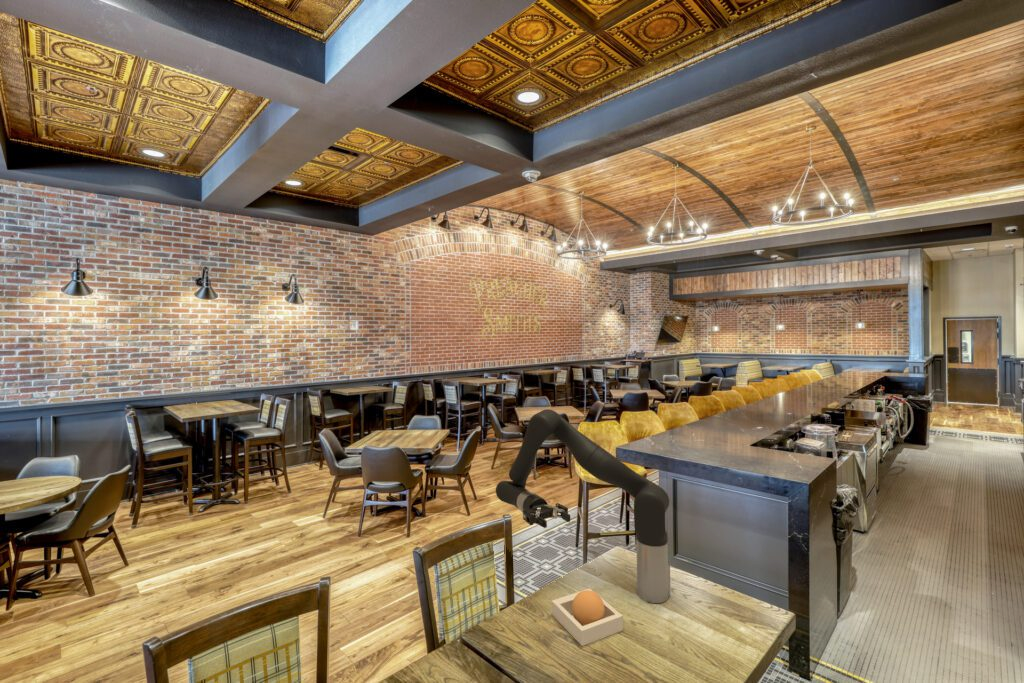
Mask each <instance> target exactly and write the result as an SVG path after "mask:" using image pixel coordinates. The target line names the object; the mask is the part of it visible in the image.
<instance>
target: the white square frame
mask: <svg viewBox="0 0 1024 683" xmlns="http://www.w3.org/2000/svg"><path fill="white" fill-rule="evenodd" d="M585 590H589V591H593V590H592V589H591V588H587V589H582V590H581V591H585ZM581 591H577V592H574V593H570V594H568V595H565V596H562V597H558V598H556V599H553V600H551V615H552V616H553V617H554V618H555V620H556V621H558V623H559V624H560V625H561V626H562V627H563V628H564V629H565V630H566V631H567V632H568V633H569V634H570V635H571V636H572V638H574V639H575V641H576V642H577V643H578V644H579V645H581V647H584V646H586V645H589V644H592V643H594V642H597V641H600V640H601V639H604V638H608V637H610V636H611V635H615V634H618V633H620V632H622V631H624V624H623V623H624V622H623V621H624V618H623V615H622V614H621V613H620V612H619V611H617V609H615V608H614V607H613V606H611V605H610V604H609V603H608V602H607V601H606V600H604V599H603V598H602V597H601V596H600V598H601V599H602V601H603V603H604V607H605V614H604V618H603V619H601V620H598V621H596V622H593V623H590V624H587V625H585V626H582V625H581V624H580V623H579V622H578V621H577V620H576V619H575V617H574V615H573V612H572V603H573V600H574V598H575V596H576V595H577V594H578V593H580V592H581ZM593 592H595V591H593Z"/></svg>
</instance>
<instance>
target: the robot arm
mask: <svg viewBox="0 0 1024 683" xmlns="http://www.w3.org/2000/svg"><path fill="white" fill-rule="evenodd" d="M551 437H553V438H555V439H557V440H558V441H560V442H561V443H563V445H564V446H566V448H568V451H569V452H570V454H571V455H572V456H573V458H574V460H575V461H576V463H577V464H578V465H579V466H580V467H581V468H582V469H584V470H585V471H586V472H588V473H589V475H591V476H593V477H594V478H596V479H598V480H600V481H601V482H605V483H606V484H609V485H612V486H615V487H617V488H619V489H622V490H623V491H624V492H626V493H627V494H629V495H630V496H631V497H633V498H634V503H633V522H634V523H633V524H634V531H635V533H636V534H635V535H636V536H635V537H636V545H635V546H636V595H637V596H638V597H639V598H640V599H641V600H642V601H645V602H648V603H650V604H661V603H665V602H666V601H667V600H668V598H669V597H670V596H671V566H670V564H669V563H668V562H669V561H668V560H669V557H668V555H669V554H668V553H669V551H668V532H667V531H666V512H667V510H668V508H669V506H670V498H669V495H668V493H667V492H666V490H665V489H663V487H661V486H659V485H658V484H657V483H654V482H653V481H651V480H650V479H647V478H645V477H644V476H643V475H641V474H639V473H638V472H636V471H634V470H633V469H632V468H630V467H629V466H628V465H626V464H625V463H624V462H622V460H620V459H618V458H616V457H615V456H614V455H613V454H612V453H611V452H609V451H607V450H606V449H604V447H602V446H600V445H599V444H598V443H596V442H595V441H593V440H591V438H589V437H587V435H585V434H583V433H582V432H580V431H579V430H578V429H576V428H575V427H574V426H573V425H572V424H571V423H569V422H568V421H567V420H566V419H565V418H564V417H563V416H561V415H560V414H559V413H558V412H556V411H555V410H553V409H549V408H548V409H543V410H540V411H538V412H537V413H535V414H533V415H532V416H531V417H530V419H529V421H528V424H527V427H526V431H525V434H524V437H523V440H522V443H521V447H520V449H519V451H518V454H517V456H516V458H515V459H514V461H513V464H512V466H511V468H509V469H510V470H509V472H508V477H509V479H510V480H502V481H499V482H498V483H497V484H496V486H495V495H496V497H497V498H498V499H499V500H500V501H501V502H503V503H506V504H508V505H511V506H514V507H515V508H517V509H518V510H519V511H521V512H522V520H523V521H525V522H526V523H527V524H529V526H533V525H534V524H535V525H539V526H540V527H542V528H543V529H547V528H548V523H547V520H546V519H555V520H557V518H560V519H562V520H563V521H565V522H567V523H570V522H571V515H570V514H569V508H568V507H567V506H565V505H563V504H561V503H558V502H557V503H555V505H551V504H548V502H547V500H546V499H545V498H543V497H542V496H540V495H538V494H536V493H534V492H533V491H530V490H529V489H527V488H526V485H527V480H528V478H529V476H530V474H531V472H532V470H533V469H534V465H535V463H536V456H537V453H538V450H540V447H541V446H542V445H543V443H544V442H545V441H546V440H547V439H549V438H551Z"/></svg>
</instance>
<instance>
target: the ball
mask: <svg viewBox="0 0 1024 683" xmlns="http://www.w3.org/2000/svg"><path fill="white" fill-rule="evenodd" d="M584 590H585V591H583V590H581V592H580V591H579V592H580V593H578V594H577V595H576V596H575V598H574V600H573V603H572V612H573V614H572V616H573V617H574V618H575V619H576V620H577V621H578V622H579V623H580V624H581V625H582V626H585V625H587V624H590V623H593V622H596V621H598V620H601V619H604V614H605V607H604V603H603V601H602V599H603V598H602V597H601V596H600V595H599V594H598V593H596V592H595V591H594V592H593V590H592V591H589V590H586V589H584ZM600 597H601V598H602V599H601V598H600Z"/></svg>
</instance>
